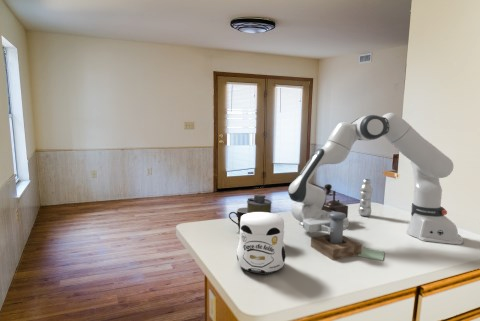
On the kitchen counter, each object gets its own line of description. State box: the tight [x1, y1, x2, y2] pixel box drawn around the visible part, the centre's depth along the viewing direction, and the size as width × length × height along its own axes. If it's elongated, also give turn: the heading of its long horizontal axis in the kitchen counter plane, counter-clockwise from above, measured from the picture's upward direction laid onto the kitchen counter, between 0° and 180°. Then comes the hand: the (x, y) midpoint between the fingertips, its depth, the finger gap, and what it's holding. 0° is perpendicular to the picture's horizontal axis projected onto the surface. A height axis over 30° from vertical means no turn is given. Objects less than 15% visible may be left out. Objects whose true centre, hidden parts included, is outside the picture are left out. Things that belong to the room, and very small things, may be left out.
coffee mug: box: [228, 207, 247, 233], centre depth 159 cm, size 12×9×10 cm
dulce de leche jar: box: [236, 212, 286, 274], centre depth 121 cm, size 17×17×18 cm
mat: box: [357, 247, 385, 262], centre depth 135 cm, size 9×9×1 cm
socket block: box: [310, 233, 363, 261], centre depth 138 cm, size 14×14×4 cm
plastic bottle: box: [358, 178, 374, 217], centre depth 185 cm, size 6×7×20 cm
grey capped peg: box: [329, 212, 346, 245], centre depth 137 cm, size 6×6×15 cm
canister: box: [246, 193, 273, 213], centre depth 146 cm, size 11×10×20 cm
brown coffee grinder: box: [322, 183, 349, 218], centre depth 175 cm, size 16×11×18 cm
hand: (338, 229), depth 136 cm, fingers closed on grey capped peg, 5 cm apart
